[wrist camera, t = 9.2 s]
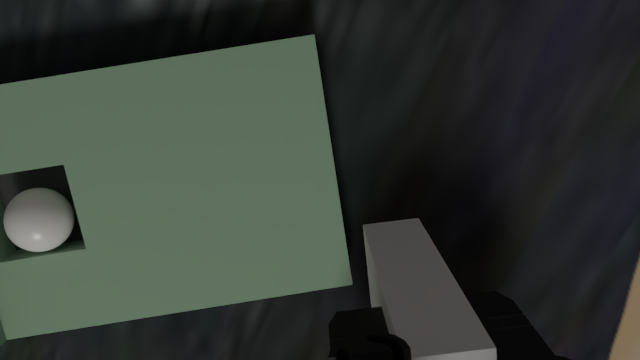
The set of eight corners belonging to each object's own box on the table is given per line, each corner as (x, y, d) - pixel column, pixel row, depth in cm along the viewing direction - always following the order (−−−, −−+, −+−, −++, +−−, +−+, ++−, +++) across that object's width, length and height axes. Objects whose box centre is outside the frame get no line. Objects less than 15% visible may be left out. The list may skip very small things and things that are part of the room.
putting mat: (-72, 74, 37) (-301, 98, 23) (310, 13, 37) (318, -1, 23) (6, 324, 41) (-146, 476, 27) (349, 269, 41) (376, 392, 27)
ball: (4, 186, 38) (-14, 205, 34) (70, 175, 39) (59, 192, 35) (21, 244, 39) (6, 268, 35) (85, 231, 40) (76, 254, 36)
